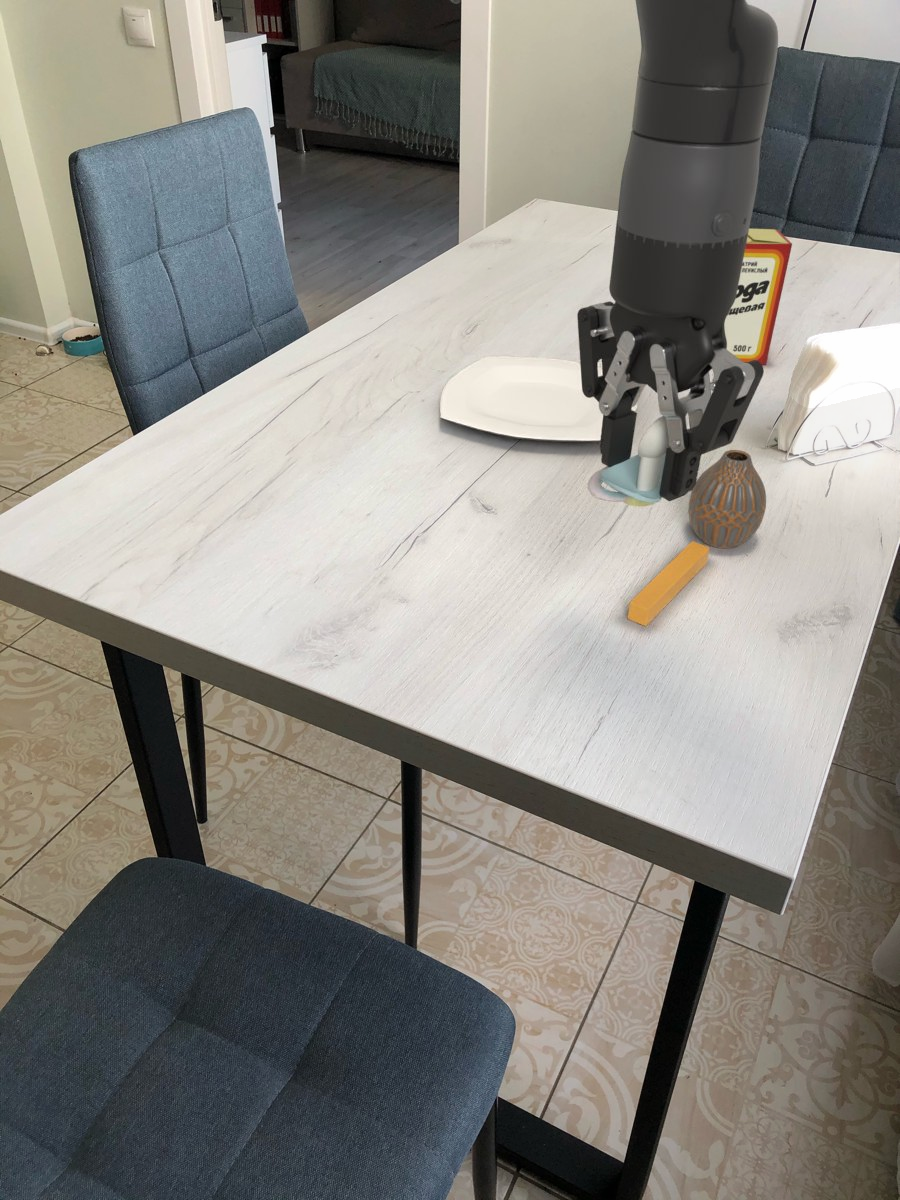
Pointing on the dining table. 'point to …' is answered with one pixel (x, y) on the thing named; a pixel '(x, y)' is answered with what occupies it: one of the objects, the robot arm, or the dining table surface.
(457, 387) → the plate
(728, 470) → the vase
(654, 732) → the dining table surface
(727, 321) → the baking soda box
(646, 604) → the wooden stick
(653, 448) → the pacifier
